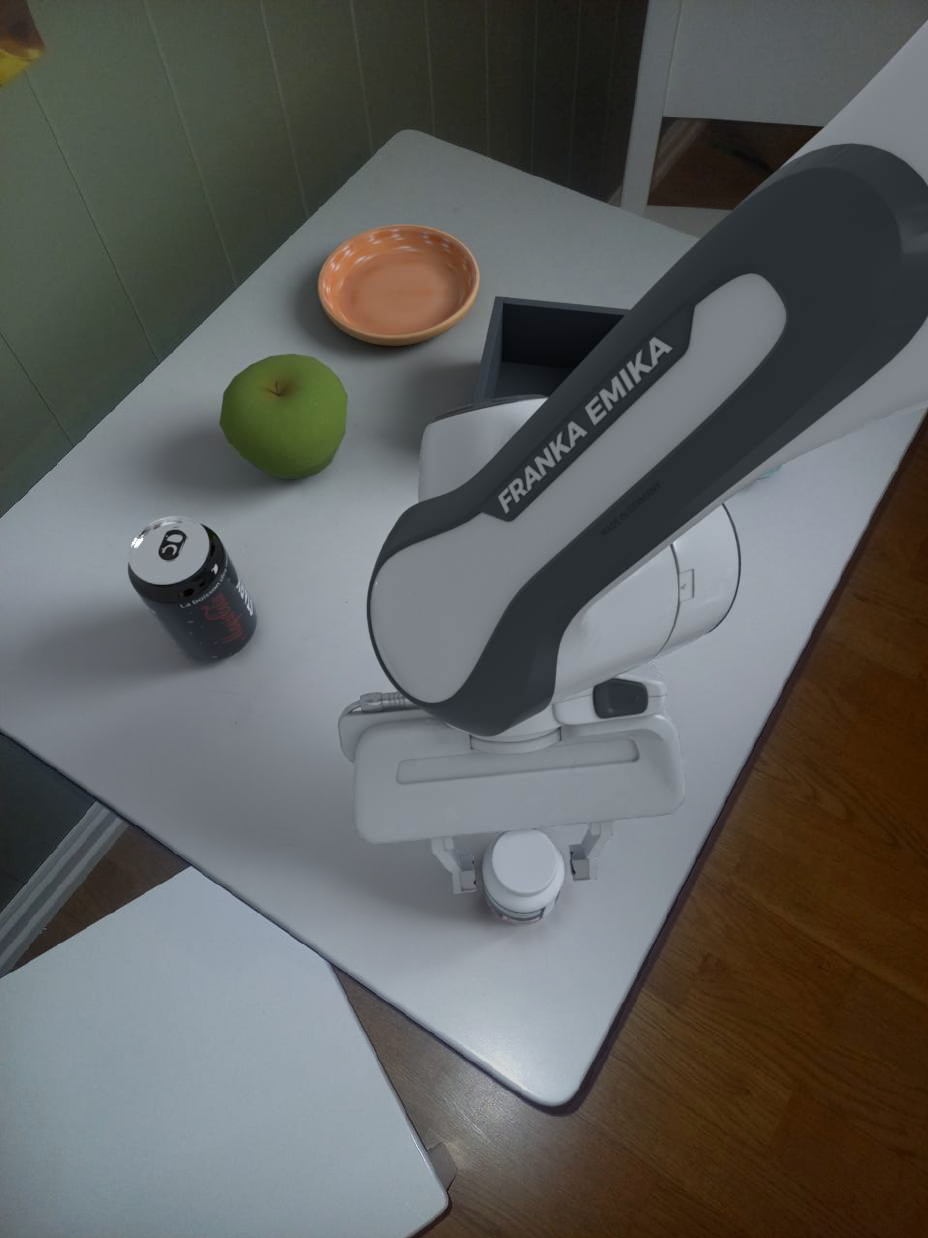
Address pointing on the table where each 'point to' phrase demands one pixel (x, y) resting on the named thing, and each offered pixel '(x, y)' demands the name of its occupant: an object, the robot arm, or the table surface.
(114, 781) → the table surface
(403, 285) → the saucer
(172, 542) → the beverage can
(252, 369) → the apple
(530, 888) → the pill bottle
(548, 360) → the bin
